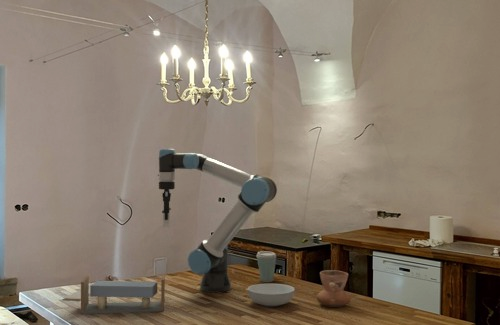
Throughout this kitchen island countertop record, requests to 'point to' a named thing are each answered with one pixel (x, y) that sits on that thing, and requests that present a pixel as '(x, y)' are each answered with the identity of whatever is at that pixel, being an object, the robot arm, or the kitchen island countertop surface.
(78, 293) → the baseboard
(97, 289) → the shelf board
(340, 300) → the ceramic jug
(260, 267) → the disposable coffee cup
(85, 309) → the peg shelf
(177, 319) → the kitchen island countertop surface
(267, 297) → the serving bowl
